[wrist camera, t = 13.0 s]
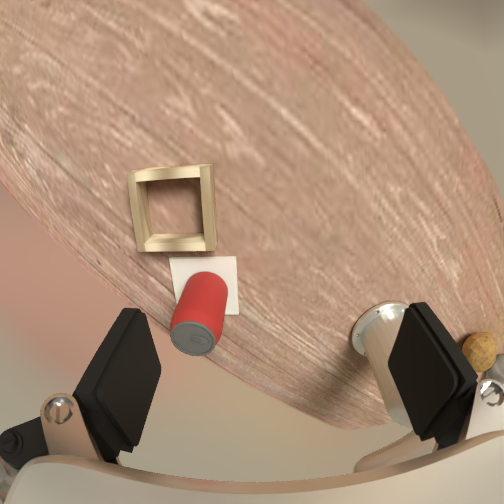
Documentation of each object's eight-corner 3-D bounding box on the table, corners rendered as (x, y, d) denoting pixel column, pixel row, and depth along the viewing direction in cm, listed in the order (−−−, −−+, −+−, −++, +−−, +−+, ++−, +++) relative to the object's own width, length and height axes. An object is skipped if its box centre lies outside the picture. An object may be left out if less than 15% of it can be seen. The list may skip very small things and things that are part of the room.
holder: (213, 163, 36) (209, 166, 33) (218, 240, 41) (214, 250, 38) (136, 169, 36) (126, 173, 33) (146, 242, 41) (138, 251, 38)
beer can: (226, 308, 45) (218, 362, 34) (185, 302, 45) (167, 354, 34) (230, 272, 42) (222, 323, 31) (186, 266, 42) (164, 314, 31)
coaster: (236, 256, 42) (235, 258, 41) (239, 312, 46) (238, 314, 45) (170, 256, 42) (169, 258, 41) (179, 311, 46) (178, 313, 46)
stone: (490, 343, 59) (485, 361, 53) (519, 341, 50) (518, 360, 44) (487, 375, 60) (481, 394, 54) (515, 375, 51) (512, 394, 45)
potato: (478, 313, 47) (496, 334, 39) (490, 337, 50) (505, 357, 43) (448, 343, 50) (463, 366, 42) (464, 363, 53) (477, 384, 46)
